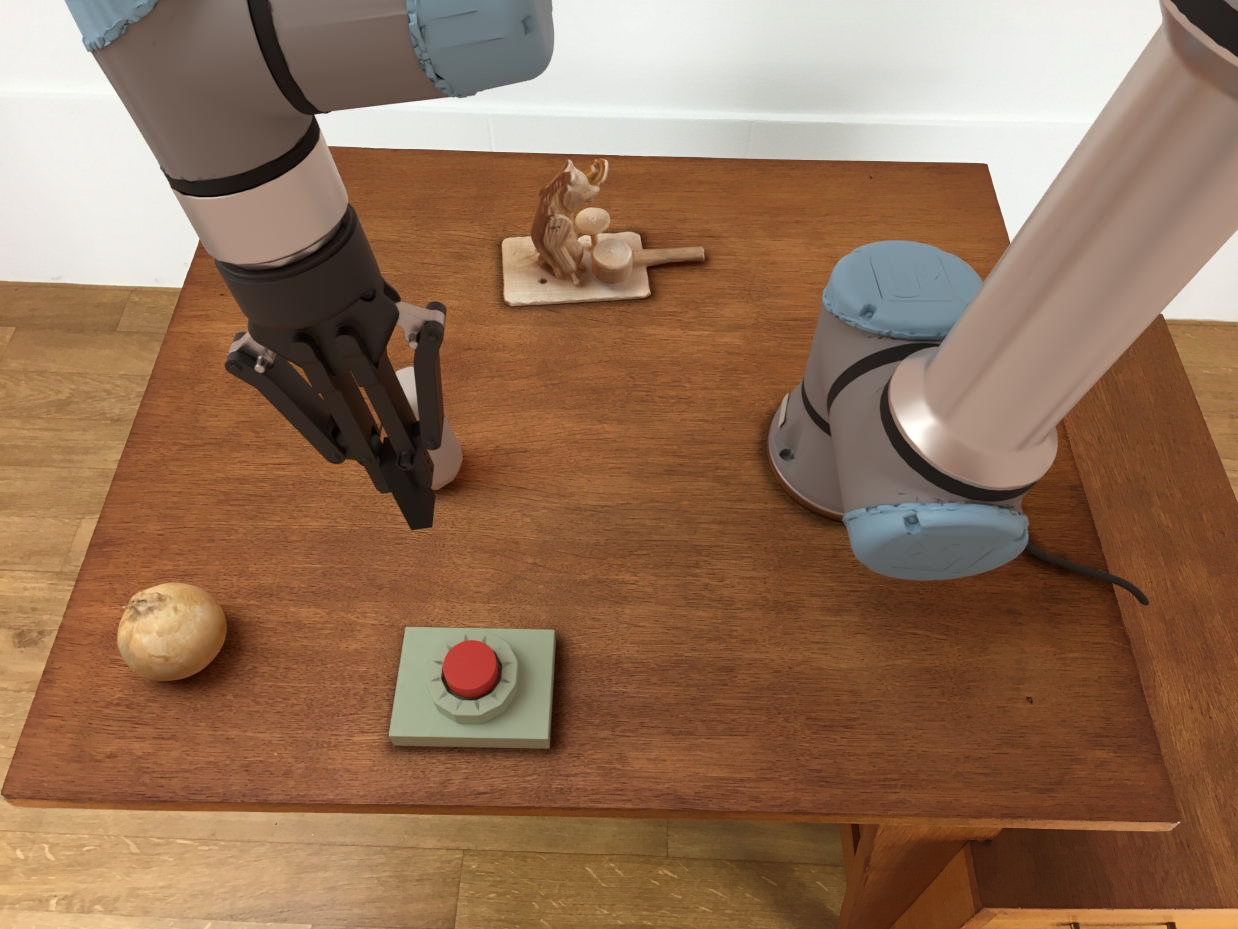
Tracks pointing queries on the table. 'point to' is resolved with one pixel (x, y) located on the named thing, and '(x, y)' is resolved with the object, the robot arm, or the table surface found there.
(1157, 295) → the robot arm
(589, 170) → the wooden toy
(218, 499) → the table surface
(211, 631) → the onion
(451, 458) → the salt shaker
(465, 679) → the switch
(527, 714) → the switch base
